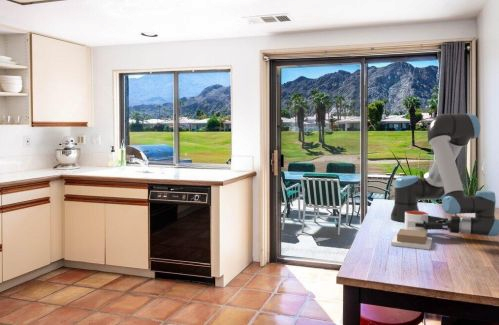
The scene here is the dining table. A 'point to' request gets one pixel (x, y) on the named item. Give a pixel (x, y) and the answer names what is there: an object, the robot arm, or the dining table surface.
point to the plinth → (413, 245)
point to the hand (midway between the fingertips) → (409, 220)
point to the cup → (415, 219)
